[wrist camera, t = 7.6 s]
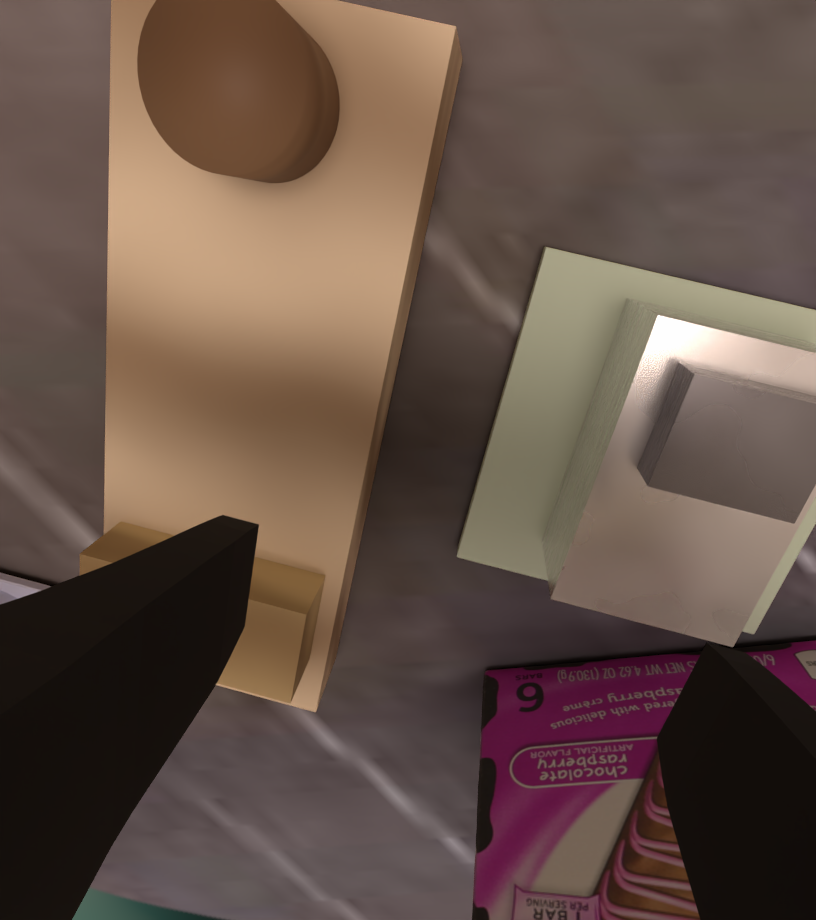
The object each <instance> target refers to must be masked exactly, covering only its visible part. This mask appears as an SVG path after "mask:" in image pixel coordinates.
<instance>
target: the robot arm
mask: <svg viewBox="0 0 816 920" xmlns="http://www.w3.org/2000/svg"><path fill="white" fill-rule="evenodd" d="M258 529H259V524H256V523H252V522H248V521H244V520H240V519H237V518H233V517H229V516H225V515H221V516H218V517H216V518H213V519H211V520H208V521H206V522H204V523H201V524H199V525H197V526H195V527H192V528H190V529H188V530H186V531H184V532H181V533H179V534H177V535H175V536H173V537H170V538H168V539H166V540H164V541H161V542H159V543H157V544H155V545H152V546H150V547H148V548H145V549H143V550H141V551H139V552H136V553H134V554H132V555H130V556H127V557H125V558H123V559H120V560H118V561H116V562H113V563H111V564H108V565H106V566H103V567H101V568H98V569H95V570H93V571H90V572H88V573H85V574H83V575H80V576H77V577H75V578H72V579H70V580H67V581H65V582H62V583H59V584H57V585H54V586H48V585H44V584H41V583H37V582H33V581H30V580H26V579H22V578H19V577H15V576H11V575H8V574H4V573H0V920H72V918H73V917H74V915H75V913H76V911H77V909H78V907H79V905H80V903H81V902H82V900H83V898H84V896H85V894H86V892H87V891H88V889H89V887H90V885H91V883H92V881H93V880H94V878H95V876H96V874H97V872H98V870H99V868H100V867H101V865H102V863H103V861H104V859H105V857H106V855H107V854H108V852H109V850H110V848H111V846H112V845H113V843H114V841H115V840H116V838H117V836H118V835H119V833H120V831H121V830H122V828H123V826H124V825H125V823H126V822H127V820H128V818H129V817H130V815H131V813H132V812H133V810H134V809H135V807H136V806H137V804H138V803H139V801H140V800H141V798H142V797H143V795H144V793H145V792H146V790H147V789H148V787H149V786H150V784H151V783H152V781H153V780H154V778H155V777H156V775H157V774H158V772H159V771H160V769H161V768H162V766H163V765H164V763H165V762H166V760H167V759H168V757H169V756H170V754H171V753H172V751H173V750H174V748H175V746H176V745H177V743H178V742H179V740H180V739H181V737H182V736H183V734H184V733H185V731H186V730H187V728H188V727H189V725H190V724H191V722H192V721H193V719H194V718H195V716H196V715H197V713H198V711H199V710H200V708H201V707H202V705H203V704H204V702H205V701H206V699H207V698H208V696H209V695H210V693H211V691H212V690H213V688H214V687H215V685H216V684H217V682H218V680H219V678H220V676H221V674H222V672H223V670H224V668H225V666H226V664H227V662H228V660H229V658H230V656H231V654H232V652H233V650H234V648H235V646H236V644H237V642H238V640H239V638H240V636H241V634H242V632H243V629H244V627H245V622H246V614H247V607H248V600H249V593H250V586H251V579H252V572H253V565H254V557H255V550H256V543H257V536H258ZM657 745H658V752H659V760H660V767H661V774H662V780H663V785H664V791H665V797H666V802H667V807H668V811H669V814H670V818H671V822H672V825H673V829H674V832H675V836H676V839H677V843H678V846H679V849H680V853H681V856H682V860H683V863H684V867H685V870H686V873H687V877H688V880H689V883H690V887H691V890H692V893H693V897H694V900H695V903H696V907H697V910H698V914H699V917H700V920H816V711H815V710H814V709H813V708H812V707H811V706H809V705H808V704H807V703H806V702H805V701H804V700H803V699H802V698H800V697H799V696H798V695H797V694H796V693H795V692H794V691H792V690H791V689H790V688H789V687H788V686H787V685H786V684H784V683H783V682H782V681H781V680H780V679H779V678H777V677H776V676H775V675H774V674H773V673H771V672H770V671H769V670H768V669H767V668H765V667H764V666H763V665H762V664H760V663H759V662H758V661H756V660H755V659H754V658H752V657H751V656H750V655H748V654H747V653H744V652H740V651H737V650H733V649H729V648H725V647H722V646H718V645H714V644H710V643H706V645H705V647H704V649H703V651H702V653H701V655H700V657H699V658H698V660H697V662H696V664H695V666H694V668H693V670H692V672H691V674H690V676H689V678H688V679H687V681H686V683H685V685H684V687H683V689H682V691H681V693H680V695H679V697H678V699H677V700H676V702H675V704H674V706H673V708H672V710H671V712H670V714H669V716H668V718H667V720H666V721H665V723H664V725H663V727H662V729H661V731H660V733H659V735H658V737H657Z"/></svg>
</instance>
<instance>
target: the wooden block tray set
mask: <svg viewBox="0 0 816 920" xmlns="http://www.w3.org/2000/svg"><path fill="white" fill-rule="evenodd" d="M462 60H463V59H462V54H461V49H460V44H459V39H458V34H457V29H456V26H452V25H447V24H442V23H438V22H433V21H429V20H424V19H420V18H415V17H411V16H406V15H401V14H397V13H392V12H388V11H383V10H379V9H374V8H369V7H365V6H360V5H356V4H351V3H347V2H342V1H338V0H111V58H110V129H109V200H108V271H107V342H106V413H105V484H104V535H103V536H102V537H100V538H99V539H98V540H97V541H95V542H94V543H93V544H92V545H90V546H89V547H88V548H87V549H85V550H84V551H83V552H82V553H80V575H83V574H85V573H88V572H90V571H93V570H95V569H98V568H101V567H103V566H106V565H108V564H111V563H113V562H116V561H118V560H120V559H123V558H125V557H127V556H130V555H132V554H134V553H136V552H139V551H141V550H143V549H145V548H148V547H150V546H152V545H155V544H157V543H159V542H161V541H164V540H166V539H168V538H170V537H173V536H175V535H177V534H179V533H181V532H184V531H186V530H188V529H190V528H192V527H195V526H197V525H199V524H201V523H204V522H206V521H208V520H211V519H213V518H216V517H218V516H221V515H225V516H229V517H233V518H237V519H240V520H244V521H248V522H252V523H256V524H259V529H258V536H257V543H256V550H255V557H254V565H253V572H252V579H251V586H250V593H249V600H248V607H247V614H246V622H245V627H244V629H243V632H242V634H241V636H240V638H239V640H238V642H237V644H236V646H235V648H234V650H233V652H232V654H231V656H230V658H229V660H228V662H227V664H226V666H225V668H224V670H223V672H222V674H221V676H220V678H219V680H218V682H217V684H216V685H218V686H222V687H225V688H229V689H233V690H236V691H240V692H243V693H247V694H251V695H254V696H258V697H262V698H265V699H269V700H272V701H276V702H280V703H283V704H287V705H291V706H294V707H298V708H302V709H305V710H309V711H312V712H316V711H317V708H318V705H319V702H320V700H321V697H322V694H323V692H324V689H325V686H326V683H327V681H328V678H329V675H330V673H331V670H332V667H333V664H334V662H335V659H336V655H337V650H338V645H339V641H340V636H341V631H342V626H343V622H344V617H345V612H346V608H347V603H348V598H349V593H350V589H351V584H352V579H353V575H354V570H355V565H356V560H357V556H358V551H359V546H360V542H361V537H362V532H363V527H364V523H365V518H366V513H367V509H368V504H369V499H370V494H371V490H372V485H373V480H374V475H375V471H376V466H377V461H378V457H379V452H380V447H381V442H382V438H383V433H384V428H385V424H386V419H387V414H388V409H389V405H390V400H391V395H392V391H393V386H394V381H395V376H396V372H397V367H398V362H399V357H400V353H401V348H402V343H403V339H404V334H405V329H406V324H407V320H408V315H409V310H410V306H411V301H412V296H413V291H414V287H415V282H416V277H417V273H418V268H419V263H420V258H421V254H422V249H423V244H424V239H425V235H426V230H427V225H428V221H429V216H430V211H431V206H432V202H433V197H434V192H435V188H436V183H437V178H438V173H439V169H440V164H441V159H442V155H443V150H444V145H445V140H446V136H447V131H448V126H449V121H450V117H451V112H452V107H453V103H454V98H455V93H456V88H457V84H458V79H459V74H460V70H461V65H462Z"/></svg>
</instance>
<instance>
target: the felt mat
mask: <svg viewBox="0 0 816 920" xmlns="http://www.w3.org/2000/svg"><path fill="white" fill-rule="evenodd" d="M627 298H630V299H634V300H638V301H643V302H647V303H651V304H655V305H659V306H663V307H668V308H672V309H676V310H680V311H684V312H688V313H693V314H697V315H701V316H705V317H709V318H713V319H718V320H722V321H726V322H730V323H734V324H738V325H743V326H747V327H751V328H755V329H759V330H763V331H768V332H772V333H776V334H780V335H784V336H788V337H793V338H797V339H801V340H805V341H809V342H812V343H815V344H816V310H814V309H810V308H805V307H801V306H797V305H793V304H788V303H784V302H780V301H776V300H771V299H767V298H763V297H759V296H754V295H750V294H746V293H742V292H737V291H733V290H729V289H724V288H720V287H716V286H712V285H707V284H703V283H699V282H695V281H690V280H686V279H682V278H678V277H673V276H669V275H665V274H661V273H656V272H652V271H648V270H643V269H639V268H635V267H631V266H626V265H622V264H618V263H614V262H609V261H605V260H601V259H597V258H592V257H588V256H584V255H580V254H575V253H571V252H567V251H563V250H558V249H554V248H550V247H545V246H544V249H543V253H542V256H541V260H540V263H539V267H538V270H537V274H536V277H535V281H534V284H533V288H532V291H531V295H530V298H529V302H528V305H527V309H526V312H525V315H524V319H523V322H522V326H521V329H520V333H519V336H518V340H517V343H516V347H515V350H514V354H513V357H512V361H511V364H510V368H509V371H508V374H507V378H506V381H505V385H504V388H503V392H502V395H501V399H500V402H499V406H498V409H497V413H496V416H495V420H494V423H493V427H492V430H491V433H490V437H489V440H488V444H487V447H486V451H485V454H484V458H483V461H482V465H481V468H480V472H479V475H478V479H477V482H476V486H475V489H474V493H473V496H472V499H471V503H470V506H469V510H468V513H467V517H466V520H465V524H464V527H463V531H462V534H461V538H460V541H459V545H458V550H457V557H458V558H462V559H466V560H470V561H474V562H478V563H481V564H485V565H489V566H493V567H497V568H501V569H504V570H508V571H512V572H516V573H520V574H524V575H528V576H531V577H535V578H539V579H543V580H547V581H548V578H547V571H546V565H545V558H544V551H543V544H542V537H543V534H544V531H545V529H546V526H547V523H548V520H549V517H550V515H551V512H552V509H553V506H554V503H555V500H556V498H557V495H558V492H559V489H560V486H561V483H562V481H563V478H564V475H565V472H566V469H567V467H568V464H569V461H570V458H571V455H572V452H573V450H574V447H575V444H576V441H577V438H578V435H579V433H580V430H581V427H582V424H583V421H584V419H585V416H586V413H587V410H588V407H589V404H590V402H591V399H592V396H593V393H594V390H595V387H596V385H597V382H598V379H599V376H600V373H601V370H602V368H603V365H604V362H605V359H606V356H607V354H608V351H609V348H610V345H611V342H612V339H613V337H614V334H615V331H616V328H617V325H618V322H619V320H620V317H621V314H622V311H623V308H624V306H625V303H626V300H627ZM815 524H816V497H815V499H814V500H813V502H812V504H811V506H810V508H809V509H808V511H807V513H806V515H805V517H804V519H803V520H802V522H801V524H800V526H799V528H798V530H797V531H796V533H795V535H794V537H793V539H792V541H791V542H790V544H789V546H788V548H787V550H786V552H785V553H784V555H783V557H782V559H781V561H780V563H779V564H778V566H777V568H776V570H775V572H774V573H773V575H772V577H771V579H770V581H769V583H768V584H767V586H766V588H765V590H764V592H763V594H762V595H761V597H760V599H759V601H758V603H757V605H756V606H755V608H754V610H753V612H752V614H751V616H750V617H749V619H748V621H747V623H746V625H745V627H744V628H743V630H742V631H743V632H746V633H750V634H755V632H756V630H757V628H758V626H759V625H760V623H761V621H762V619H763V617H764V616H765V614H766V612H767V610H768V608H769V607H770V605H771V603H772V601H773V599H774V598H775V596H776V594H777V592H778V590H779V589H780V587H781V585H782V583H783V581H784V580H785V578H786V576H787V574H788V572H789V571H790V569H791V567H792V565H793V563H794V562H795V560H796V558H797V556H798V554H799V552H800V551H801V549H802V547H803V545H804V543H805V542H806V540H807V538H808V536H809V534H810V533H811V531H812V529H813V527H814V525H815Z"/></svg>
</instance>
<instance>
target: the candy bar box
mask: <svg viewBox="0 0 816 920" xmlns="http://www.w3.org/2000/svg"><path fill="white" fill-rule="evenodd" d="M732 649H733V650H737V651H740V652H744V653H747V654H748V655H750V656H751V657H752V658H754V659H755V660H756V661H758V662H759V663H760V664H762V665H763V666H764V667H765V668H767V669H768V670H769V671H770V672H771V673H773V674H774V675H775V676H776V677H777V678H779V679H780V680H781V681H782V682H783V683H784V684H786V685H787V686H788V687H789V688H790V689H791V690H792V691H794V692H795V693H796V694H797V695H798V696H799V697H800V698H802V699H803V700H804V701H805V702H806V703H807V704H808V705H809V706H811V707H812V708H813V709H814V710H815V711H816V640H815V641H803V642H793V643H784V644H776V645H763V646H753V647H743V648H732ZM701 653H702V651H698V652H691V653H679V654H666V655H654V656H644V657H633V658H622V659H612V660H602V661H589V662H579V663H567V664H556V665H546V666H531V667H522V668H511V669H498V670H487V671H486V672H485V674H484V685H483V701H482V726H481V740H480V769H479V784H478V806H477V833H476V855H475V868H474V889H473V913H472V920H700V917H699V914H698V910H697V907H696V903H695V900H694V897H693V893H692V890H691V887H690V883H689V880H688V877H687V873H686V870H685V867H684V863H683V860H682V856H681V853H680V849H679V846H678V843H677V839H676V836H675V832H674V829H673V825H672V822H671V818H670V814H669V811H668V807H667V802H666V797H665V791H664V785H663V780H662V774H661V767H660V760H659V752H658V745H657V737H658V735H659V733H660V731H661V729H662V727H663V725H664V723H665V721H666V720H667V718H668V716H669V714H670V712H671V710H672V708H673V706H674V704H675V702H676V700H677V699H678V697H679V695H680V693H681V691H682V689H683V687H684V685H685V683H686V681H687V679H688V678H689V676H690V674H691V672H692V670H693V668H694V666H695V664H696V662H697V660H698V658H699V657H700V655H701Z"/></svg>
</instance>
